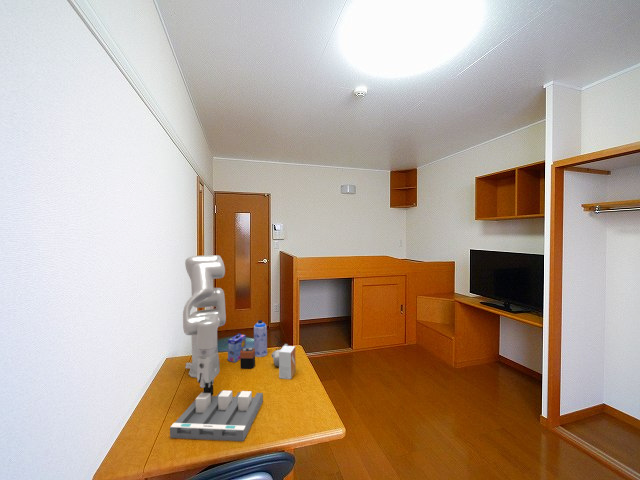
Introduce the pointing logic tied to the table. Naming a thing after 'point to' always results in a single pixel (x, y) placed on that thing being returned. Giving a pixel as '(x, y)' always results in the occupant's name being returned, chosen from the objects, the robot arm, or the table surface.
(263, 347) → the aerosol can
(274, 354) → the voltmeter
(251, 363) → the battery
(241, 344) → the ink cartridge box
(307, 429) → the table surface
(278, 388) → the table surface
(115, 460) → the table surface
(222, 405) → the switch tab middle
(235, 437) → the switch panel
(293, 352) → the small box
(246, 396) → the switch tab right
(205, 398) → the switch tab left
